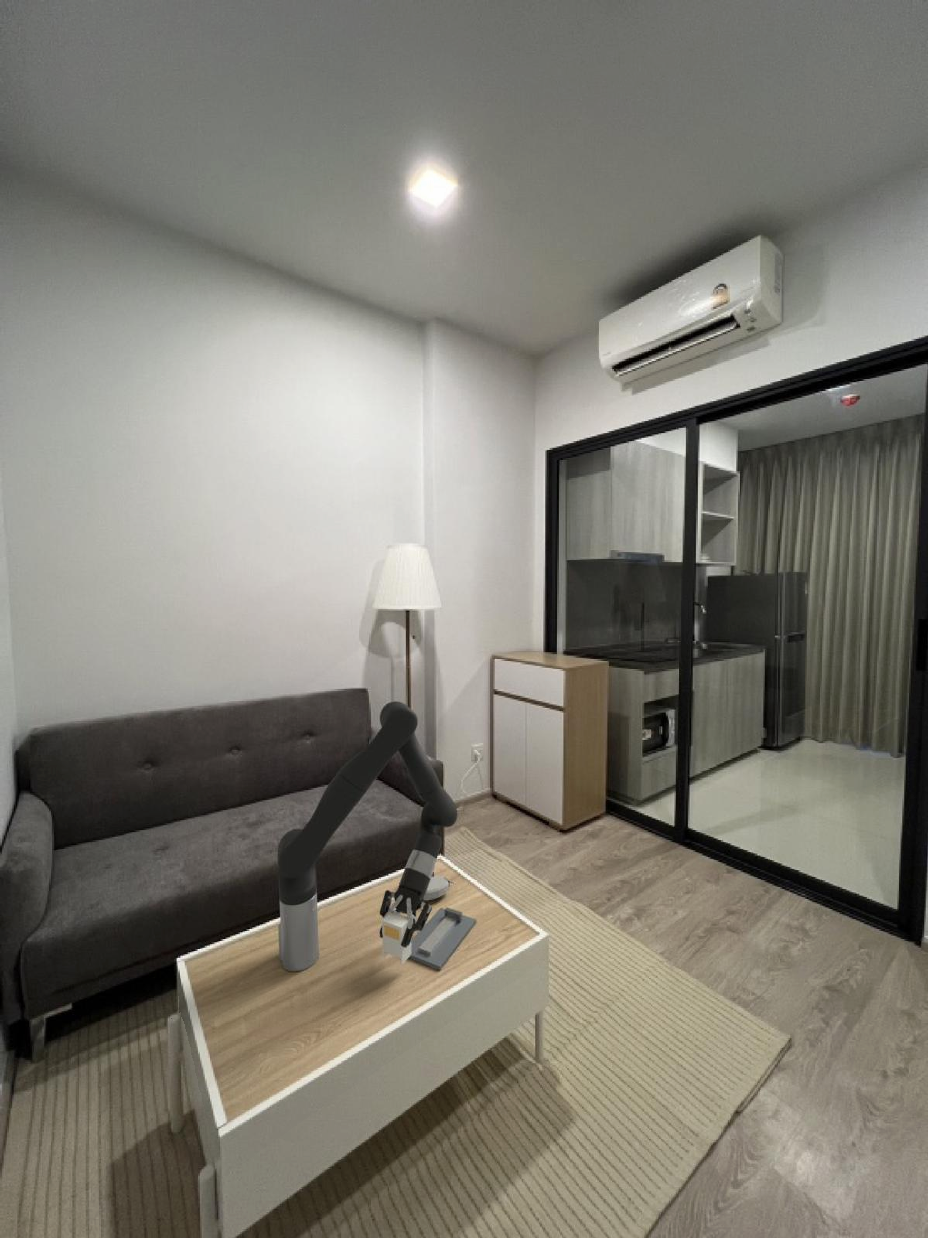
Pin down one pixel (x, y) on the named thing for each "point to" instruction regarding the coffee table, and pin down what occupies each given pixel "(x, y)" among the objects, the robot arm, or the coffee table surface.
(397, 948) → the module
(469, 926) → the rail board
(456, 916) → the rail
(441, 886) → the robot toy
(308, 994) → the coffee table surface
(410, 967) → the coffee table surface
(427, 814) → the robot arm
